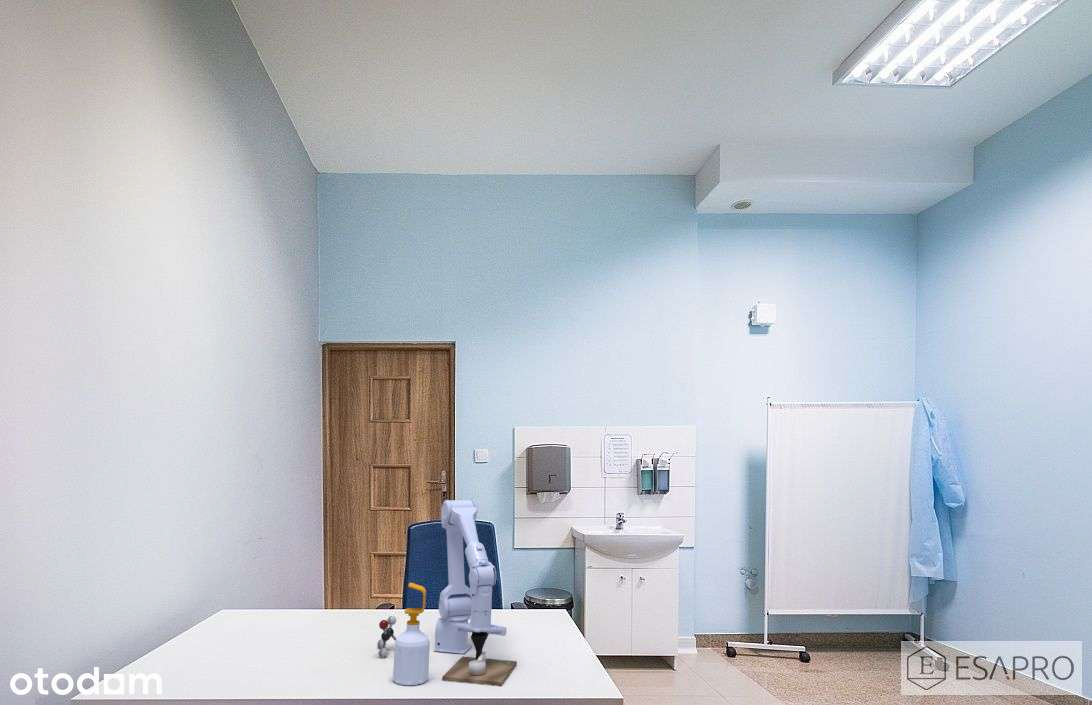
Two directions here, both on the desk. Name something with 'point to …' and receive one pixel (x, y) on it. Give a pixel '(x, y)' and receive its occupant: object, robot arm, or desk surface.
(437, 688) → the desk surface
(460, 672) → the dial board
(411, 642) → the soap bottle
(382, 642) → the molecular model
